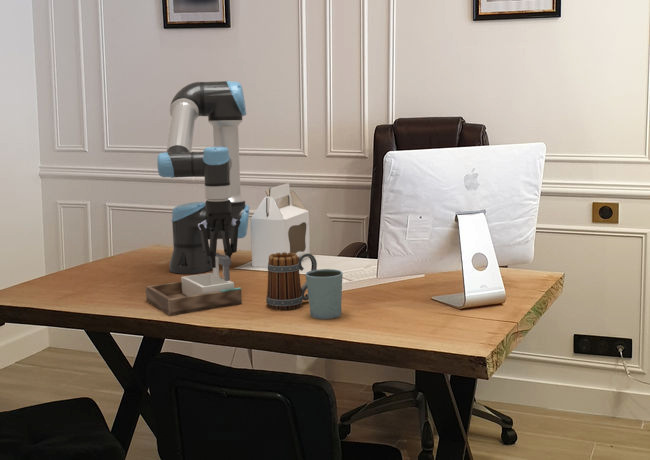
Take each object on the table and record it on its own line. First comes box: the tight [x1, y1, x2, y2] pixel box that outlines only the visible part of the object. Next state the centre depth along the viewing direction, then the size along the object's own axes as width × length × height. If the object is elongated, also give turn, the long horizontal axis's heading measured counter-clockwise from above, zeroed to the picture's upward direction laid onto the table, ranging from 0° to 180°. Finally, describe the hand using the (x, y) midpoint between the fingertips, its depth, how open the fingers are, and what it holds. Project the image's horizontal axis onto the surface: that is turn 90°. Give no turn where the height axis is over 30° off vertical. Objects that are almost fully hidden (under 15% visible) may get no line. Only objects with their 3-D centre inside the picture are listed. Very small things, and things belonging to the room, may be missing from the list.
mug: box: [265, 252, 318, 311], centre depth 242 cm, size 16×11×15 cm
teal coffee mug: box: [305, 268, 344, 320], centre depth 231 cm, size 10×10×12 cm
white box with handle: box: [180, 252, 235, 296], centre depth 250 cm, size 11×16×12 cm, turn 31°
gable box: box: [250, 182, 311, 269], centre depth 302 cm, size 22×13×28 cm, turn 158°
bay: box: [145, 281, 243, 317], centre depth 248 cm, size 22×20×5 cm
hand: (221, 277), depth 252 cm, fingers closed on white box with handle, 2 cm apart
